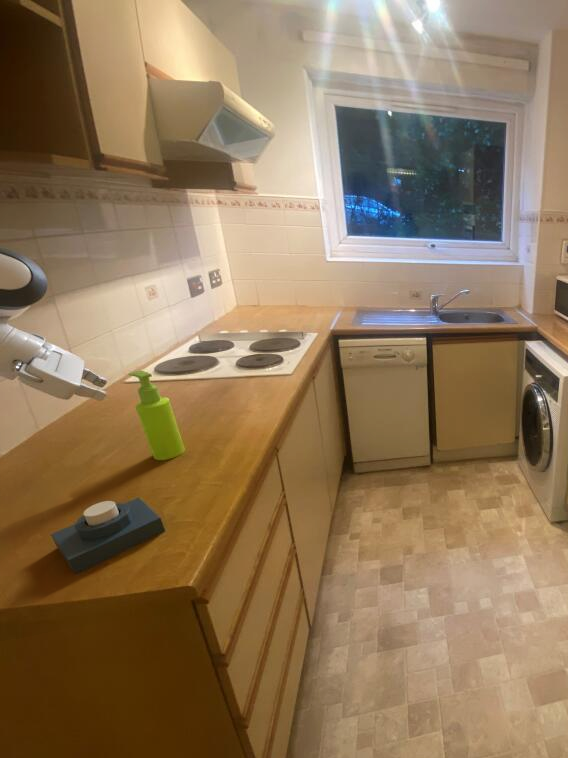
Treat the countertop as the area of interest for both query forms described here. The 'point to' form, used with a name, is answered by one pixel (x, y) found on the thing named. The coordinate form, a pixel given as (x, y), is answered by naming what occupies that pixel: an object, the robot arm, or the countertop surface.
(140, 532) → the button housing
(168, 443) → the soap dispenser
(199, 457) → the countertop surface
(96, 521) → the button
